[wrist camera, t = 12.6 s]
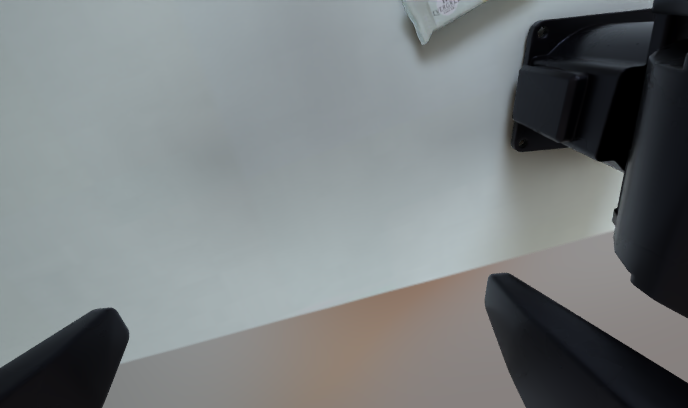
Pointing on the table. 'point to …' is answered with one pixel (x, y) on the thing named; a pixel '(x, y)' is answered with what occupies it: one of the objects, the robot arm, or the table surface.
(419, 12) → the granola bar
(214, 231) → the table surface
